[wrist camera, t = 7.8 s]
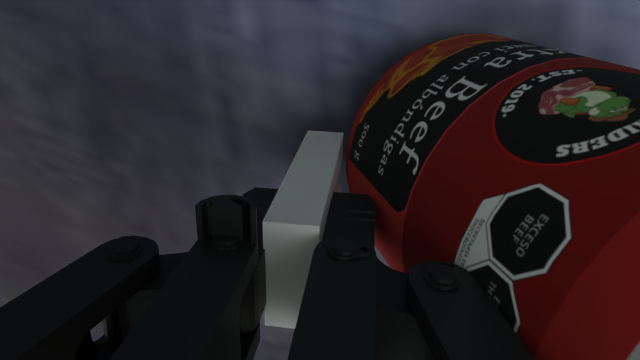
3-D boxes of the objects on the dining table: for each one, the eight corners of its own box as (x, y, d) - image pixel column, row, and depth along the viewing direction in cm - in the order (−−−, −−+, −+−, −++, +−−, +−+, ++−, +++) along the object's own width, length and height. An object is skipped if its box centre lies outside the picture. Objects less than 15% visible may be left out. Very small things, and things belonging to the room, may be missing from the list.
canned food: (524, -13, 15) (1175, 52, 5) (551, 192, 19) (953, 442, 9) (300, 91, 14) (580, 378, 5) (377, 281, 18) (614, 648, 9)
